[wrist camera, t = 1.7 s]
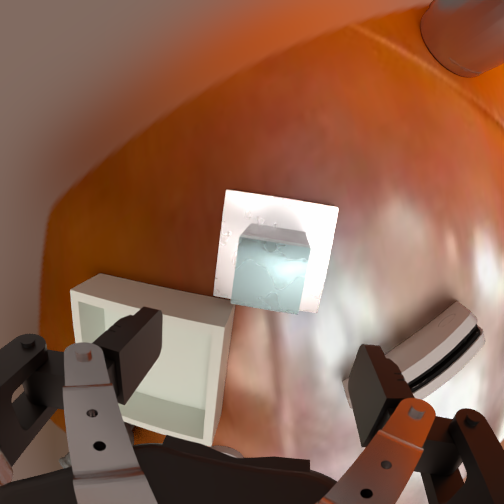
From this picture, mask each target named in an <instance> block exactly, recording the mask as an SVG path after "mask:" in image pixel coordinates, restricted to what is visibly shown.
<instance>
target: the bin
mask: <svg viewBox="0 0 504 504" xmlns="http://www.w3.org/2000/svg"><path fill="white" fill-rule="evenodd" d="M70 294H71V306H72V317H73V326H74V334H75V342H76V343H81V342H87V343H92V342H94V341H95V340H96V339H97V338H98V337H99V336H100V335H102V334H103V333H104V332H105V331H106V330H108V329H109V328H110V327H111V326H113V324H114V323H115V322H117V321H118V320H119V319H120V318H123V317H125V316H128V315H135V314H136V313H137V312H138V311H139V310H140V309H141V308H142V307H149V308H153V309H157V310H161V311H162V314H163V324H162V349H161V353H160V356H159V358H158V359H157V361H156V362H155V363H154V365H153V366H152V368H151V369H150V370H149V372H148V373H147V375H146V376H145V377H144V379H143V380H142V382H141V383H140V385H139V386H138V387H137V389H136V390H135V392H134V393H133V394H132V396H131V397H130V399H129V400H128V402H127V403H126V404H125V405H122V404H119V403H118V405H119V408H120V412H121V415H122V418H123V421H124V422H127V423H130V424H133V425H136V426H139V427H142V428H145V429H148V430H151V431H154V432H157V433H161V434H164V435H169V436H173V437H177V438H180V439H184V440H188V441H192V442H196V443H200V444H203V445H206V446H212V443H213V439H214V436H215V433H216V429H217V426H218V423H219V419H220V416H221V411H222V403H223V395H224V387H225V380H226V372H227V364H228V356H229V349H230V341H231V334H232V326H233V319H234V311H235V304H231V300H226V299H220V298H215V297H210V296H205V295H199V294H194V293H189V292H184V291H179V290H174V289H170V288H165V287H160V286H155V285H151V284H146V283H142V282H137V281H133V280H128V279H124V278H119V277H115V276H111V275H107V274H102V273H100V274H98V275H96V276H94V277H92V278H91V279H89V280H87V281H85V282H83V283H81V284H80V285H78V286H76V287H74V288H72V289H71V290H70Z"/></svg>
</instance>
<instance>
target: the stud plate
mask: <svg viewBox="0 0 504 504" xmlns="http://www.w3.org/2000/svg"><path fill="white" fill-rule="evenodd" d="M338 209H339V208H338V207H336V206H332V205H326V204H321V203H315V202H309V201H303V200H297V199H291V198H285V197H279V196H273V195H266V194H259V193H253V192H246V191H239V190H231V189H229V190H226V194H225V202H224V209H223V217H222V225H221V233H220V241H219V249H218V258H217V267H216V275H215V284H214V294H213V296H218V297H223V298H228V299H231V296H232V288H233V280H234V273H235V265H236V258H237V250H238V243H239V236H240V235H241V234H242V233H243V232H244V231H245V229H246V228H247V227H248V226H249V225H250V224H251V223H254V224H260V225H266V226H273V227H279V228H285V229H291V230H297V231H303V232H305V233H306V236H307V239H308V241H309V244H310V246H311V252H310V258H309V263H308V268H307V273H306V278H305V283H304V288H303V293H302V298H301V303H300V307H299V310H300V311H307V312H313V313H317V312H318V307H319V303H320V299H321V294H322V290H323V285H324V281H325V276H326V272H327V267H328V262H329V257H330V252H331V247H332V242H333V237H334V231H335V226H336V220H337V215H338Z"/></svg>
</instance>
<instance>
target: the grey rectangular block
mask: <svg viewBox="0 0 504 504" xmlns="http://www.w3.org/2000/svg"><path fill="white" fill-rule="evenodd" d="M310 252H311V246H310V244H309V241H308V239H307V236H306V233H305V232H303V231H297V230H291V229H285V228H279V227H273V226H266V225H260V224H254V223H251V224H250V225H249V226H248V227H247V228H246V229H245V231H244V232H243V233H242V234H241V235H240V236H239V243H238V250H237V258H236V265H235V273H234V280H233V288H232V296H231V304H237V305H243V306H248V307H254V308H260V309H266V310H272V311H278V312H284V313H291V314H297V315H298V312H299V307H300V303H301V298H302V293H303V288H304V283H305V278H306V273H307V268H308V263H309V258H310Z"/></svg>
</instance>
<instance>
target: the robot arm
mask: <svg viewBox="0 0 504 504" xmlns="http://www.w3.org/2000/svg"><path fill="white" fill-rule="evenodd" d="M420 26H421V33H422V37H423V39H424V42H425V44H426V46H427V47H428V49H429V50H430V52H431V53H432V54H433V56H434V57H435V58H436V59H437V60H438V61H439V62H440V63H441V64H442V65H443V66H445V67H446V68H447V69H449V70H450V71H452V72H454V73H455V74H457V75H460V76H463V77H475V76H478V75H480V74H482V73H484V72H486V71H488V70H490V69H492V68H494V67H497V66H499V65H501V64H503V63H504V0H433V1H432V2H431V3H430V8H429V9H428V10H427V11H426V13H425V14H424V15H423V17H422V19H421V23H420ZM162 324H163V314H162V311H161V310H157V309H153V308H149V307H142V308H141V309H140V310H139V311H138V312H137V313H136V314H135V315H128V316H125V317H123V318H120V319H119V320H118V321H117V322H115V323H114V324H113V326H111V327H110V328H109V329H108V330H106V331H105V332H104V333H103V334H102V335H100V336H99V337H98V338H97V339H96V340H95V341H94V342H92V343H87V342H81V343H75V344H72V345H70V346H69V347H67V348H66V350H65V351H64V352H58V351H52V350H47V347H46V342H45V339H44V338H43V337H41V336H39V335H36V334H25V335H21V336H18V337H16V338H15V339H14V340H12V341H11V342H9V343H8V344H7V345H5V346H4V347H3V348H1V349H0V504H395V503H396V502H397V500H398V498H399V497H400V495H401V493H402V491H403V490H404V488H405V486H406V484H407V482H408V480H409V479H410V477H411V475H412V473H413V471H416V472H421V476H422V480H423V483H424V487H425V491H426V494H427V498H428V502H429V504H504V450H503V448H502V446H501V444H500V443H499V441H498V439H497V437H496V436H495V434H494V432H493V430H492V429H491V427H490V425H489V424H488V422H487V420H486V419H485V417H484V416H483V415H482V414H480V413H479V412H477V411H475V410H472V409H461V410H459V411H458V412H457V413H456V415H455V416H454V418H453V419H448V418H443V417H437V416H436V413H435V410H434V409H433V407H432V406H431V405H430V404H428V403H427V402H425V401H423V400H421V399H417V398H415V397H414V395H413V393H412V391H411V390H410V388H409V386H408V384H407V382H406V381H405V378H404V376H403V375H402V373H401V371H400V369H399V367H398V365H397V364H395V363H394V362H393V361H392V360H391V359H390V358H386V357H385V355H384V353H383V351H382V349H381V347H380V346H375V345H365V344H362V345H361V346H360V348H359V350H358V353H357V356H356V359H355V362H354V365H353V368H352V371H351V373H350V376H349V380H348V392H349V396H350V400H351V404H352V408H353V412H354V416H355V420H356V424H357V429H358V433H359V437H360V442H361V446H362V447H366V448H365V449H364V451H363V452H362V453H361V454H360V456H359V457H358V458H357V459H356V461H355V462H354V463H353V464H352V466H351V467H350V468H349V469H348V470H347V471H346V473H345V474H344V475H343V476H342V477H341V478H340V480H339V481H338V482H337V481H335V480H334V479H332V478H330V477H328V476H326V475H324V474H322V473H319V472H316V471H313V470H310V460H304V459H293V458H283V457H258V458H235V457H232V456H229V455H227V454H224V453H222V452H219V451H217V450H215V449H212V448H210V447H207V446H205V445H203V444H200V443H196V442H192V441H188V440H184V439H180V438H177V437H173V436H169V435H166V437H165V439H164V442H163V444H159V443H147V444H138V445H131V442H130V439H129V436H128V433H127V430H126V427H125V424H124V421H123V418H122V415H121V412H120V408H119V405H118V403H119V404H122V405H125V404H126V403H127V402H128V400H129V399H130V397H131V396H132V394H133V393H134V392H135V390H136V389H137V387H138V386H139V385H140V383H141V382H142V380H143V379H144V377H145V376H146V375H147V373H148V372H149V370H150V369H151V368H152V366H153V365H154V363H155V362H156V361H157V359H158V358H159V356H160V353H161V349H162ZM21 384H22V385H23V388H24V392H23V393H22V394H21V395H20V396H19V397H18V398H17V399H16V400H15V401H14V402H13V403H11V398H12V395H13V393H14V391H15V390H16V389H17V388H18V387H19V386H20V385H21ZM57 409H64V413H65V423H66V431H67V439H68V446H69V452H70V458H71V464H72V466H70V467H67V468H64V469H60V470H57V471H54V472H50V473H46V474H42V475H38V476H34V477H30V478H27V479H22V480H17V481H13V482H11V480H12V477H13V470H12V466H13V465H14V463H15V462H16V460H17V459H18V458H19V457H20V455H21V454H22V453H23V451H24V450H25V449H26V447H27V446H28V445H29V444H30V443H31V441H32V440H33V438H34V437H35V436H36V435H37V434H38V432H39V431H40V430H41V429H42V427H43V426H44V425H45V424H46V422H47V421H48V420H49V419H50V417H51V416H52V415H53V414H54V413H55V411H56V410H57ZM462 462H463V464H464V466H465V469H466V471H467V478H466V481H465V483H464V482H463V479H462V477H461V474H460V471H459V469H458V467H459V466H460V465H461V463H462Z"/></svg>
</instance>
